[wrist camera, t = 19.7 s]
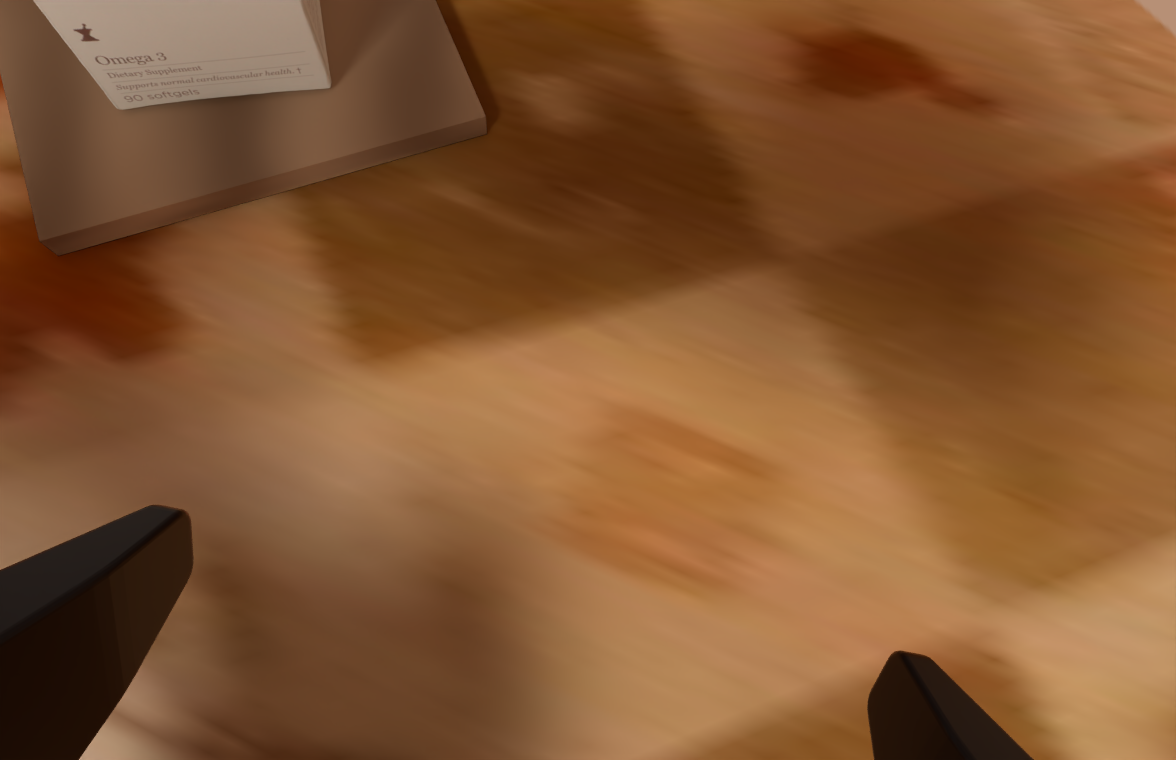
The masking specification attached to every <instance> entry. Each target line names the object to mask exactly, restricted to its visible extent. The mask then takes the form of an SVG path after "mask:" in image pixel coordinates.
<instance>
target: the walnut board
mask: <svg viewBox="0 0 1176 760" xmlns="http://www.w3.org/2000/svg"><path fill="white" fill-rule="evenodd" d="M320 7H321V15H322V22H323V29H324V37H325V44H326V51H327V57H328V64H329V71H330V77H331V82H332V83H331V87H330V88H327V89H314V90H298V91H285V92H271V93H263V94H249V95H241V96H228V97H218V98H207V99H198V100H189V101H181V102H173V103H165V104H157V105H150V106H144V107H138V108H132V109H125V110H119V109H117V108H116V107H115V106H114V105H113V103H112V102H111V101H110V100H109V98H108V97H107V96H106V94H105V93H104V91H103V90H102V89H101V88H100V86H99V85H98V84H97V82H96V81H95V80H94V78H93V77H92V76H91V74H90V73H89V72H88V71H87V69H86V68H85V67H84V66H83V64H82V63H81V62H80V61H79V59H78V58H77V57H76V55H75V54H74V53H73V51H72V50H71V49H70V48H69V46H68V45H67V44H66V43H65V41H64V40H63V39H62V37H61V36H60V35H59V33H58V32H57V31H56V30H55V28H54V27H53V26H52V24H51V23H50V22H49V20H48V19H47V18H46V16H45V15H44V14H43V12H42V11H41V10H40V9H39V7H38V6H37V5H36V3H35V2H34V1H33V0H0V74H1V78H2V82H3V87H4V91H5V95H6V100H7V104H8V108H9V112H10V117H11V121H12V125H13V130H14V134H15V138H16V143H17V147H18V151H19V156H20V160H21V164H22V169H23V173H24V177H25V182H26V186H27V190H28V195H29V199H30V203H31V208H32V212H33V216H34V221H35V225H36V229H37V234H38V238H39V241H40V242H41V243H42V244H43V245H45V246H46V247H47V248H49V249H50V250H51V251H52V252H54V253H55V254H56V255H58V256H60V255H63V254H67V253H70V252H74V251H77V250H81V249H84V248H88V247H91V246H95V245H98V244H102V243H105V242H109V241H112V240H116V239H119V238H123V237H126V236H130V235H133V234H137V233H140V232H144V231H147V230H151V229H154V228H158V227H161V226H165V225H168V224H172V223H175V222H179V221H182V220H186V219H189V218H193V217H197V216H200V215H204V214H207V213H211V212H214V211H218V210H221V209H225V208H228V207H232V206H235V205H239V204H242V203H246V202H249V201H253V200H256V199H260V198H263V197H267V196H270V195H274V194H277V193H281V192H284V191H288V190H291V189H295V188H298V187H302V186H305V185H309V184H312V183H316V182H319V181H323V180H326V179H330V178H333V177H337V176H340V175H344V174H348V173H351V172H355V171H358V170H362V169H365V168H369V167H372V166H376V165H379V164H383V163H386V162H390V161H393V160H397V159H400V158H404V157H407V156H411V155H414V154H418V153H421V152H425V151H428V150H432V149H435V148H439V147H442V146H446V145H449V144H453V143H456V142H460V141H463V140H467V139H470V138H474V137H477V136H481V135H484V134H487V127H486V116H485V113H484V111H483V109H482V106H481V104H480V102H479V99H478V97H477V95H476V92H475V90H474V88H473V85H472V83H471V81H470V79H469V76H468V74H467V72H466V69H465V67H464V65H463V62H462V60H461V58H460V55H459V53H458V51H457V49H456V46H455V44H454V42H453V39H452V37H451V35H450V32H449V30H448V28H447V25H446V23H445V21H444V18H443V16H442V14H441V12H440V9H439V7H438V5H437V2H436V0H320Z"/></svg>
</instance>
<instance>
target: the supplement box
mask: <svg viewBox="0 0 1176 760" xmlns="http://www.w3.org/2000/svg"><path fill="white" fill-rule="evenodd" d="M33 1H34V2H35V3H36V5H37V6H38V7H39V9H40V10H41V11H42V12H43V14H44V15H45V16H46V18H47V19H48V20H49V22H50V23H51V24H52V26H53V27H54V28H55V30H56V31H57V32H58V33H59V35H60V36H61V37H62V39H63V40H64V41H65V43H66V44H67V45H68V46H69V48H70V49H71V50H72V51H73V53H74V54H75V55H76V57H77V58H78V59H79V61H80V62H81V63H82V64H83V66H84V67H85V68H86V69H87V71H88V72H89V73H90V74H91V76H92V77H93V78H94V80H95V81H96V82H97V84H98V85H99V86H100V88H101V89H102V90H103V91H104V93H105V94H106V96H107V97H108V98H109V100H110V101H111V102H112V103H113V105H114V106H115V107H116V108H117V109H119V110H125V109H132V108H138V107H144V106H150V105H157V104H165V103H173V102H181V101H189V100H198V99H207V98H218V97H228V96H241V95H249V94H263V93H271V92H285V91H298V90H314V89H327V88H330V87H331V83H332V82H331V77H330V71H329V64H328V57H327V51H326V44H325V37H324V29H323V22H322V15H321V7H320V0H33Z"/></svg>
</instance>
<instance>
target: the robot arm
mask: <svg viewBox="0 0 1176 760" xmlns="http://www.w3.org/2000/svg"><path fill="white" fill-rule="evenodd" d="M192 568H193V546H192V530H191V519H190V516H189V514H188V513H187V512H186V511H184V510H182V509H177V508H172V507H167V506H162V505H151V506H148V507H145V508H143V509H140V510H138V511H136V512H133V513H131V514H129V515H126V516H124V517H122V518H120V519H117V520H115V521H113V522H110V523H108V524H106V525H103V526H101V527H99V528H96V529H94V530H92V531H89V532H87V533H85V534H82V535H80V536H78V537H76V538H73V539H71V540H69V541H66V542H64V543H62V544H59V545H57V546H55V547H52V548H50V549H48V550H45V551H43V552H41V553H39V554H36V555H34V556H32V557H29V558H27V559H25V560H22V561H20V562H18V563H15V564H13V565H11V566H8V567H6V568H4V569H1V570H0V760H79V758H80V757H81V756H82V754H83V753H84V751H85V750H86V748H87V747H88V746H89V744H90V743H91V741H92V740H93V738H94V737H95V736H96V734H97V733H98V731H99V730H100V728H101V727H102V726H103V724H104V723H105V721H106V720H107V718H108V717H109V716H110V714H111V713H112V711H113V710H114V708H115V707H116V705H117V704H118V702H119V701H120V699H121V698H122V696H123V695H124V693H125V692H126V690H127V688H128V687H129V685H130V683H131V682H132V680H133V678H134V677H135V675H136V673H137V671H138V669H139V668H140V666H141V664H142V662H143V661H144V659H145V657H146V655H147V653H148V652H149V650H150V648H151V646H152V644H153V643H154V641H155V639H156V637H157V635H158V634H159V632H160V630H161V628H162V626H163V625H164V623H165V621H166V619H167V617H168V616H169V614H170V612H171V610H172V608H173V607H174V605H175V603H176V601H177V599H178V598H179V596H180V594H181V592H182V590H183V589H184V587H185V585H186V583H187V581H188V579H189V577H190V575H191V571H192ZM867 710H868V719H869V726H870V733H871V741H872V748H873V755H874V760H1033V759H1032V758H1031V757H1030V756H1029V755H1028V754H1027V753H1026V752H1025V751H1024V750H1023V749H1022V748H1021V747H1020V746H1019V745H1018V744H1017V743H1016V742H1015V741H1014V740H1013V739H1012V738H1011V737H1010V736H1009V735H1008V734H1007V733H1006V732H1005V731H1004V730H1003V729H1002V728H1001V727H1000V726H999V725H998V724H997V723H996V722H995V721H994V720H993V719H992V718H991V717H990V716H989V715H988V714H987V713H986V712H985V711H984V710H983V709H982V708H981V707H980V706H979V705H978V704H977V703H976V702H975V701H974V700H973V699H972V698H971V697H970V696H969V695H968V694H967V693H966V692H964V691H963V690H962V689H961V688H960V687H959V686H958V685H957V684H956V683H955V682H954V681H953V680H952V679H951V678H950V677H949V676H948V675H947V674H946V673H945V672H944V671H943V670H942V669H941V668H940V667H939V666H938V665H937V664H936V663H935V662H934V661H933V660H932V659H931V658H929V657H927V656H925V655H921V654H916V653H911V652H906V651H895V652H894V653H892V654H891V655H890V657H889V658H888V660H887V662H886V664H885V666H884V667H883V669H882V671H881V673H880V675H879V677H878V678H877V680H876V682H875V684H874V686H873V688H872V689H871V692H870V694H869V698H868V706H867Z"/></svg>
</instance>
